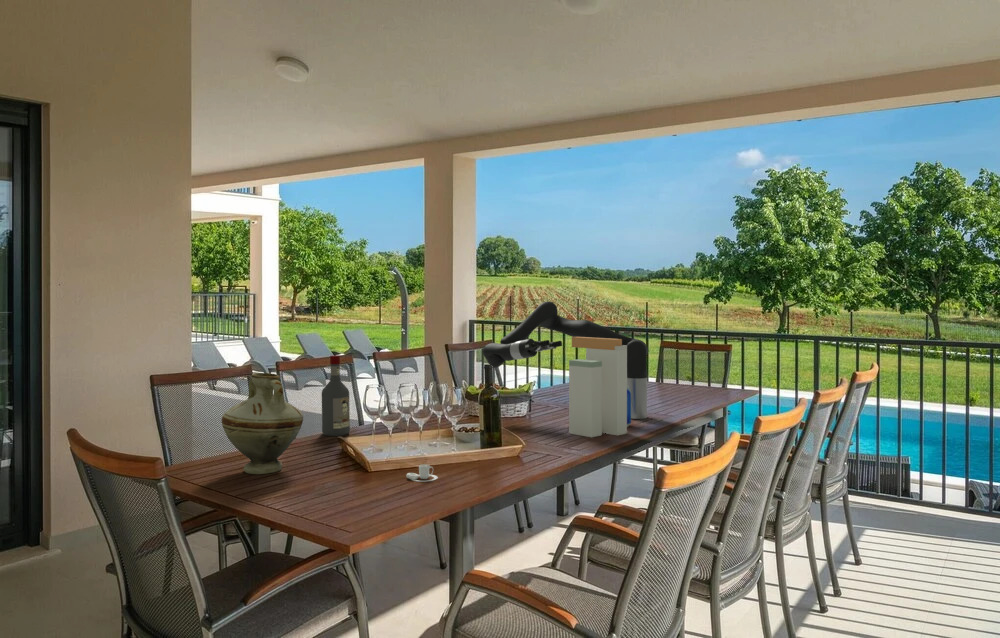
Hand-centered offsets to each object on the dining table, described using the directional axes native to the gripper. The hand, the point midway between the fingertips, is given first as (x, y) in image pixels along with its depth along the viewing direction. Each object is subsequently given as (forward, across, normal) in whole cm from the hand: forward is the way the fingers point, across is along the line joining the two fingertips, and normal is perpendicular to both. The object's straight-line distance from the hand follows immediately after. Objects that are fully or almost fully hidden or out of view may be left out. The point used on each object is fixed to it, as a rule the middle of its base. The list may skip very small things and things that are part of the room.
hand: (555, 342), depth 289 cm
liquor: (-65, -61, +27) cm, 93 cm away
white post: (+14, +6, +37) cm, 40 cm away
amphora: (-38, -110, +37) cm, 122 cm away
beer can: (+13, +20, +36) cm, 43 cm away
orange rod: (+16, +4, +5) cm, 17 cm away
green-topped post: (+11, -3, +37) cm, 39 cm away
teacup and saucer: (+4, -85, +44) cm, 96 cm away
